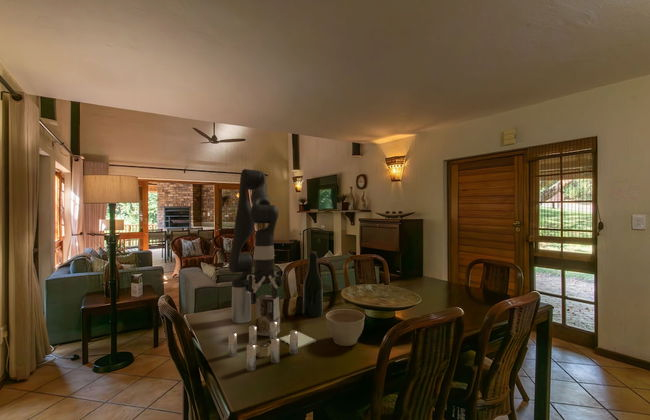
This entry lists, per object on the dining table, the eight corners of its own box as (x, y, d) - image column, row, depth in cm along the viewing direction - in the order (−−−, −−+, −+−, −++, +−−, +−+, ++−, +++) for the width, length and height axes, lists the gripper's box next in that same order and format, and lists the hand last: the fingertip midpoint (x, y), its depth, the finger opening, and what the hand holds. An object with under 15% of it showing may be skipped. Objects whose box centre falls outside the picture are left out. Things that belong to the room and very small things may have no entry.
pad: (279, 339, 129) (279, 338, 129) (298, 333, 136) (298, 331, 136) (296, 348, 120) (296, 347, 120) (316, 341, 127) (316, 340, 127)
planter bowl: (319, 337, 131) (319, 312, 131) (353, 331, 138) (353, 307, 138) (335, 353, 117) (335, 324, 117) (372, 346, 123) (372, 318, 123)
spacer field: (225, 353, 116) (226, 332, 116) (273, 338, 130) (273, 319, 130) (250, 373, 102) (250, 349, 102) (300, 353, 116) (300, 332, 116)
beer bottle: (298, 314, 161) (298, 251, 161) (312, 310, 168) (312, 250, 169) (313, 319, 154) (313, 253, 154) (326, 314, 162) (327, 251, 162)
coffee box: (280, 332, 137) (280, 295, 138) (273, 337, 131) (273, 299, 131) (262, 329, 140) (262, 294, 140) (255, 334, 134) (255, 297, 134)
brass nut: (253, 353, 116) (253, 344, 116) (265, 349, 120) (265, 340, 120) (261, 358, 112) (261, 349, 112) (273, 354, 115) (273, 345, 115)
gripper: (274, 254, 124) (274, 295, 124) (242, 258, 114) (242, 301, 114) (285, 256, 118) (285, 298, 118) (252, 260, 109) (252, 306, 109)
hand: (264, 300), depth 116 cm, fingers open, 8 cm apart
